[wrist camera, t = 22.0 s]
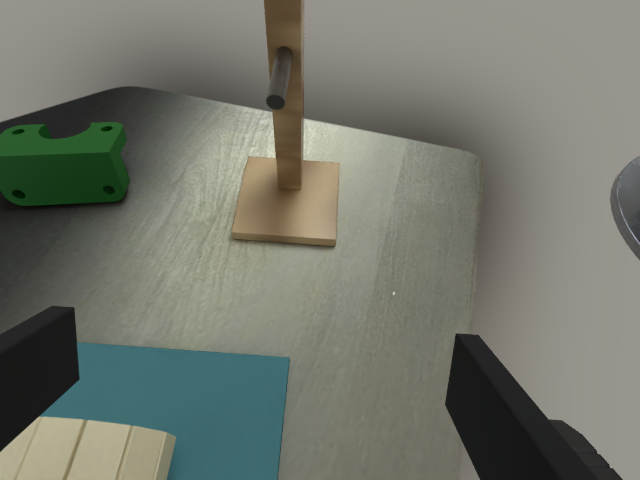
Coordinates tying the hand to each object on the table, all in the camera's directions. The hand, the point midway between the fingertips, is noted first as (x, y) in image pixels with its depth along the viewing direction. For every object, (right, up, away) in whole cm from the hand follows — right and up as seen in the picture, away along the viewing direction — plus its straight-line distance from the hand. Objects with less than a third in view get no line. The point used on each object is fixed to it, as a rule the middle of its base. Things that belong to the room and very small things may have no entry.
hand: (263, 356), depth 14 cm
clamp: (-23, +10, +28) cm, 38 cm away
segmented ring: (-12, -11, +14) cm, 22 cm away
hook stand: (-1, +8, +27) cm, 29 cm away
